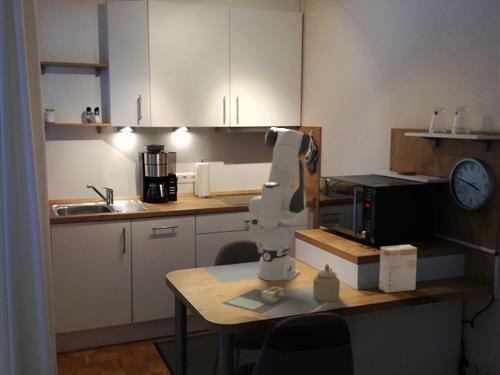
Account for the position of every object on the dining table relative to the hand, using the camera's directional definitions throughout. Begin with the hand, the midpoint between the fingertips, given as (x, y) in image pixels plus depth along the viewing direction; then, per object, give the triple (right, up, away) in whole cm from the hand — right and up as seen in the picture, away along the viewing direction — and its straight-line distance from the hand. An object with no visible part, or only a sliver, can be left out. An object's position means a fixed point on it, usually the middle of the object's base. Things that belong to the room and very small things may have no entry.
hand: (270, 254), depth 239 cm
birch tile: (+1, -19, +2) cm, 19 cm away
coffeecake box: (+58, -18, +19) cm, 64 cm away
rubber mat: (-5, -20, +1) cm, 21 cm away
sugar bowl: (+24, -20, +8) cm, 32 cm away
